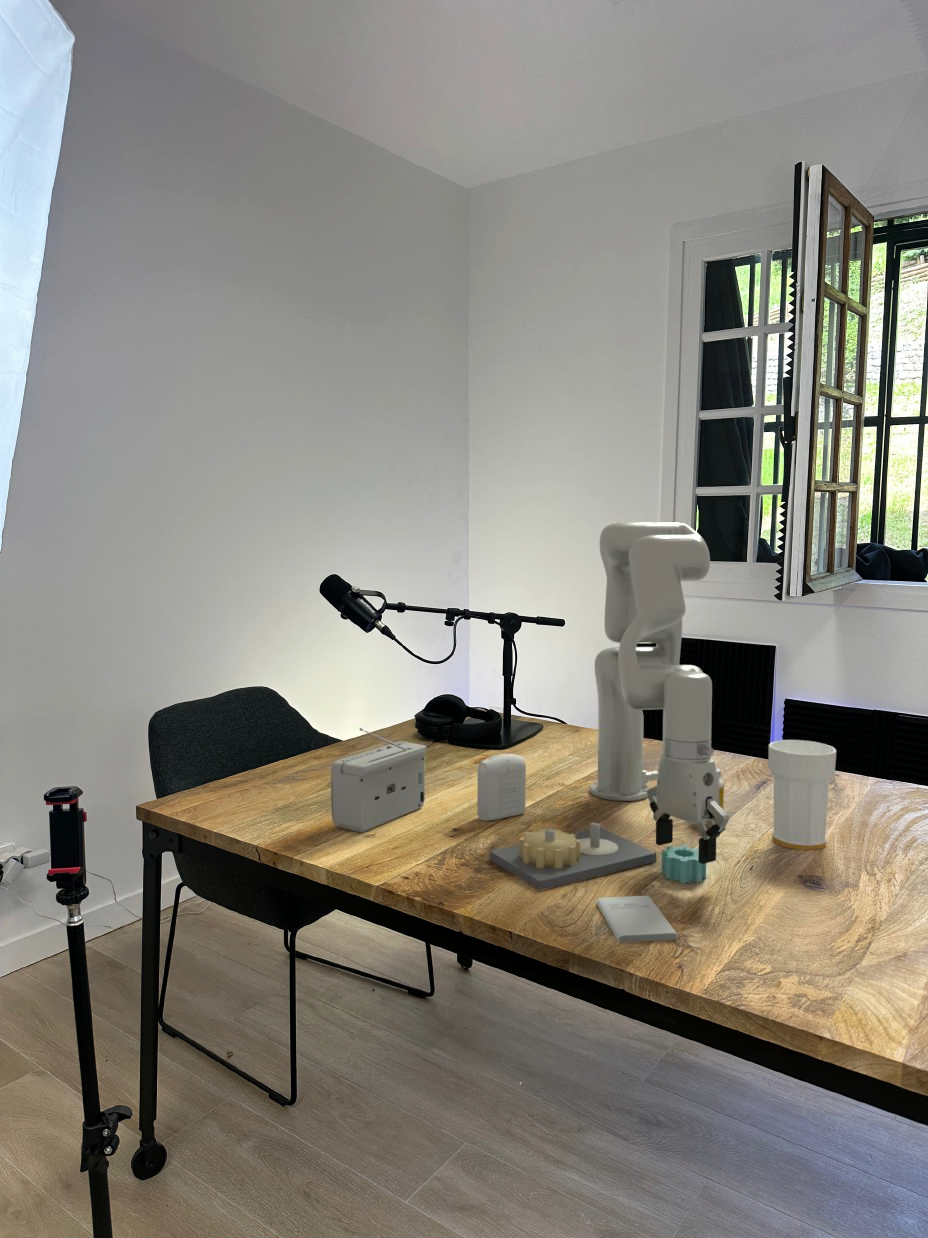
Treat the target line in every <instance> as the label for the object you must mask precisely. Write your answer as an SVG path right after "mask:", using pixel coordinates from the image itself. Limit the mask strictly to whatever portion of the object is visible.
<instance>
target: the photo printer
mask: <svg viewBox="0 0 928 1238" xmlns="http://www.w3.org/2000/svg"><path fill="white" fill-rule="evenodd" d="M526 765H527V764H526V761H525V758H524V757H523V756H521V755H518V754H516V753H515V754H514V753H501V754H500V753H499V754H495V755H493V756H489V757H486V759H483V760H482V761H481V762H479V764H478V765H477V766H478V767H477V801H476V803H477V816H478V819H479V820H481V821H484V822H488V821H495V820H499V819H504V818H508V817H515V816H519V815H523V814H525V812H526V786H527V785H526V782H527V781H526V777H527V776H526V773H527V771H526V770H527V769H526V768H527V766H526Z"/></svg>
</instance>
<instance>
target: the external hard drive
mask: <svg viewBox="0 0 928 1238" xmlns="http://www.w3.org/2000/svg"><path fill="white" fill-rule="evenodd" d="M596 905H597V907H598V908H599V910H600V912H601V914H602V915H603V918H604V919H605V921H606V923H607V924H608V926H609V927H610V929H611V931H612V933H613V935H614V937H615V938H616V940H617V941H618V943H639V942H659V941H664V942H665V941H678V933H677V931H676V930H675V929H674V927H673V926H672V925H671V924H670V922H669V921H668V920H667V918H666V917H665V916H664V914H663V913H662V911H661V910H660V908H659V907H658V906H657V905H656V904H655V902H654V900H653V899H652V898H651V897H650V896H649V895H633V896H632V895H631V896H629V895H628V896H613V897H610V896H609V897H599V898H597V899H596Z"/></svg>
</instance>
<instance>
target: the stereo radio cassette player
mask: <svg viewBox="0 0 928 1238" xmlns="http://www.w3.org/2000/svg"><path fill="white" fill-rule="evenodd" d="M359 731H361V732H364V733H366V734H368V735H370V736H372V737H375V738H376V739H379V740H381V741H383V742H385V743H387V744H386V745H384V746H380V747H377V748H374V749H370V750H367V751H364V752H360V753H358V754H353V755H352V756H348V757H347V756H346V757H344V758H341V759H338V760H335V761H333V762H332V763H331V766H330V804H331V805H330V806H331V807H330V809H331V811H330V812H331V820H332V821H331V822H332V823H333V824H334V825H337V827H339V828H341V829H344V830H345V829H346V830H351V831H354V832H359V833H361V834H363V833H364V832H366V831H368V830H371V829H374V828H376V827H379V826H381V825H383V824H385V823H387V822H390V821H392V820H395V819H397V818H400V817H402V816H405V815H407V814H409V813H411V812H414V811H417V810H420V809H421V808H424V804H425V799H426V795H425V793H426V792H425V791H426V788H425V787H426V784H425V783H426V780H425V779H426V778H425V777H426V775H425V774H426V773H425V771H426V769H425V761H426V760H425V756H426V755H427V754H428V748H427V745H424V744H418V743H414V742H409V741H408V742H407V741H403V740H400V741H396V742H393V741H391V740H389V739H387V738H384V737H381V736H379V735H376V734H374V733H372V732H370V731H367V730H364V728H362V727H360V728H359Z"/></svg>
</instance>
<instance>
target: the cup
mask: <svg viewBox="0 0 928 1238" xmlns="http://www.w3.org/2000/svg"><path fill="white" fill-rule="evenodd" d="M836 760H837V749H836V748H835V747H833V745H832V746H831V745H828V744H826V743H822V742H818V741H812V740H803V739H801V740H800V739H783V740H775V741H771V742H770V743H769V744H768V769H769V771H770V773H772V775H773V831H772V832H771V833H772V834H771V836H772V837H771V839H772V841H773V842H775V843H776V844H778V845H779V846H782V847H784V848H788V849H792V850H793V849H794V850H798V851H816V850H821V849H823V848H825V847H826V845H827V838H826V831H827V829H826V827H827V814H828V803H829V802H828V800H829V799H828V798H829V787H830V785H829V784H830V781H831V779H832V778H833V777H834V775H835V773H836V764H837V762H836Z"/></svg>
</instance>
